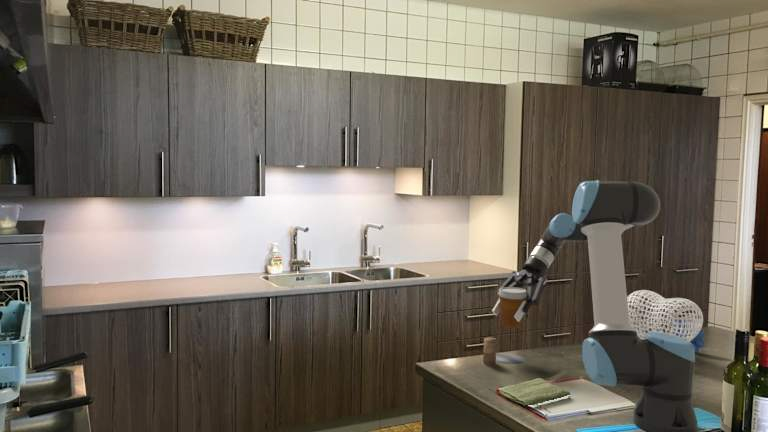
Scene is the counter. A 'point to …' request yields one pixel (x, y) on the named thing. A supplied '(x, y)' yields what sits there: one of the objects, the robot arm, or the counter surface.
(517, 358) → the board
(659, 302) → the heart
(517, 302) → the disposable coffee cup
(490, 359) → the walnut peg
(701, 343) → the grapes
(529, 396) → the washcloth
